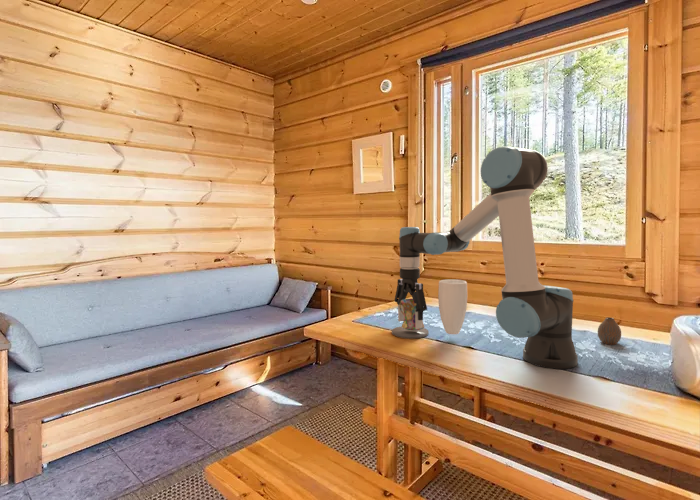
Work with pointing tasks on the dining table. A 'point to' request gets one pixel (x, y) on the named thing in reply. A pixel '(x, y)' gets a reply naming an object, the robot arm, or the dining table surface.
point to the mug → (408, 314)
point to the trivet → (409, 333)
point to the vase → (609, 331)
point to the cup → (452, 304)
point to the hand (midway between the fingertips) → (410, 324)
